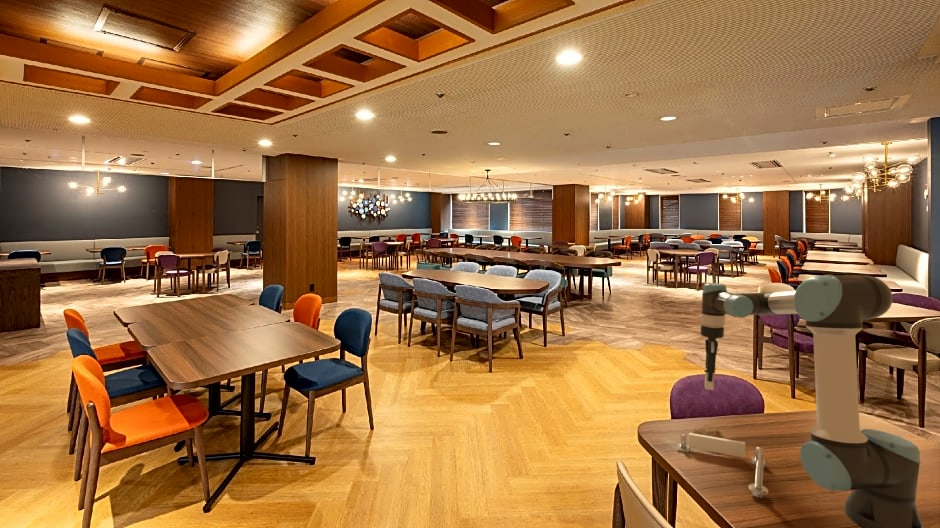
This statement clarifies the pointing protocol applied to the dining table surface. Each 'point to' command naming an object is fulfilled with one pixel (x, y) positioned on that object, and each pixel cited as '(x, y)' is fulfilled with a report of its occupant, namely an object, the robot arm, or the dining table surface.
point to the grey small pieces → (684, 448)
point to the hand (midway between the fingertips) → (708, 387)
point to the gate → (717, 445)
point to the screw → (758, 479)
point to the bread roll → (708, 431)
